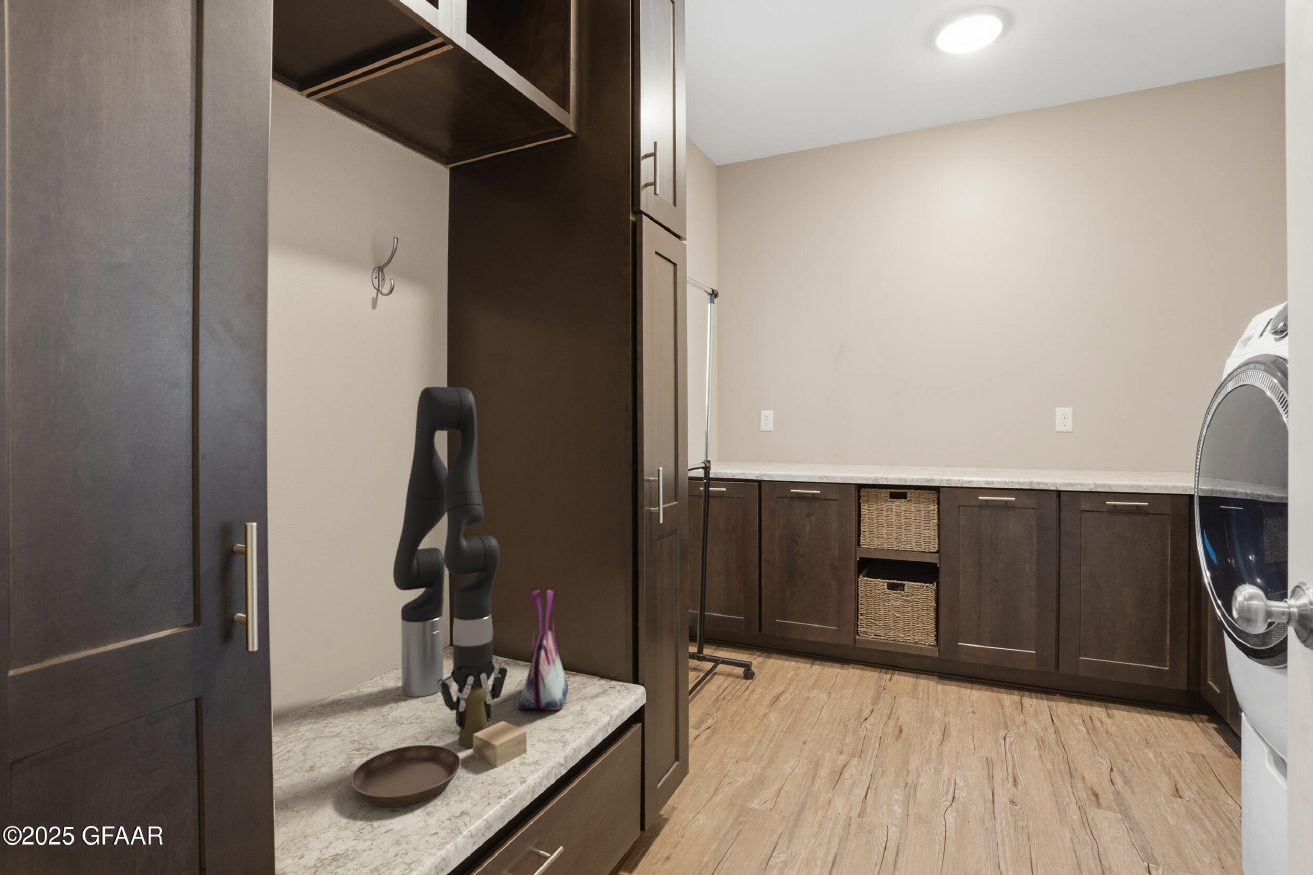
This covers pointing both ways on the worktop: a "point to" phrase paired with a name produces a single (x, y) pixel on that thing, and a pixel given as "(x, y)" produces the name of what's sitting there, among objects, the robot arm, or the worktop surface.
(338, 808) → the worktop surface
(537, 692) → the handbag
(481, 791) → the worktop surface
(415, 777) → the plant saucer
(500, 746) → the oak base block
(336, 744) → the worktop surface
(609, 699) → the worktop surface
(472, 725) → the olive green pawn
